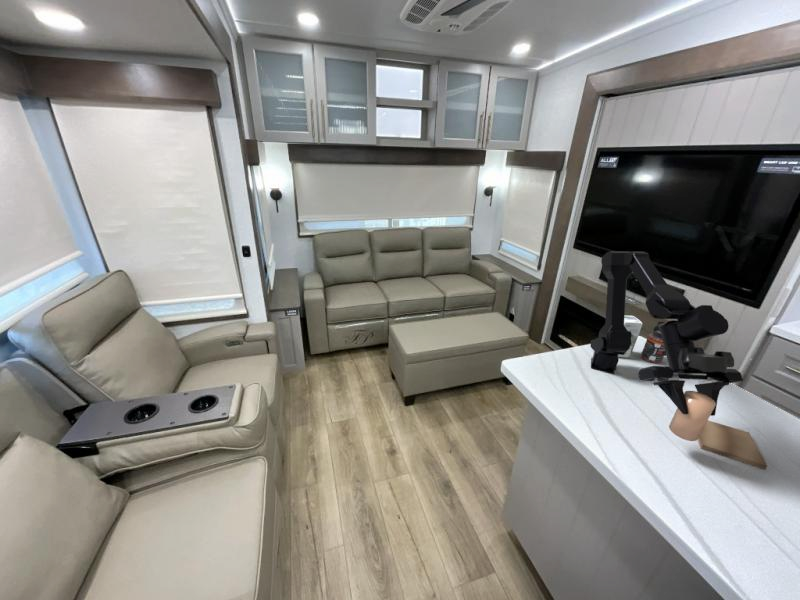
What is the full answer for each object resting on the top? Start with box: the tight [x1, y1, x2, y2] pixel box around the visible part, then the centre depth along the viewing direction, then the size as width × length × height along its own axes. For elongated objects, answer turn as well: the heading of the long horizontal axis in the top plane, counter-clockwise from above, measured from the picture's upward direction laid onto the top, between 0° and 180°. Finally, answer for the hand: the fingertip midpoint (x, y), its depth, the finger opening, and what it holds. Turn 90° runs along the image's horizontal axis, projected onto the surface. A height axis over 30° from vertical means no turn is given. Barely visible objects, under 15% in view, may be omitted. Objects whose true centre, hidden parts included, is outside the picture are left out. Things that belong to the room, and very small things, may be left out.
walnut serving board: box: [697, 419, 768, 470], centre depth 76 cm, size 11×11×1 cm
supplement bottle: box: [640, 331, 665, 364], centre depth 107 cm, size 6×6×11 cm
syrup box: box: [618, 315, 644, 359], centre depth 109 cm, size 6×6×14 cm
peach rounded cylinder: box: [668, 390, 717, 442], centre depth 70 cm, size 5×5×10 cm
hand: (698, 414), depth 68 cm, fingers closed on peach rounded cylinder, 5 cm apart
